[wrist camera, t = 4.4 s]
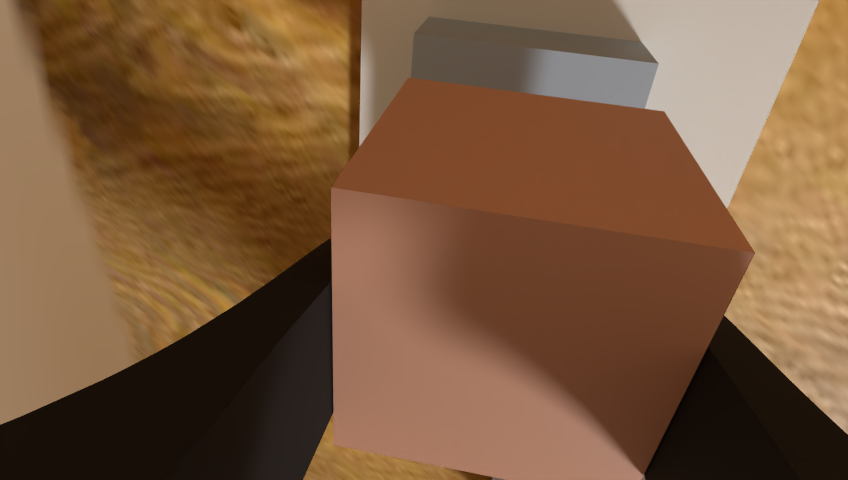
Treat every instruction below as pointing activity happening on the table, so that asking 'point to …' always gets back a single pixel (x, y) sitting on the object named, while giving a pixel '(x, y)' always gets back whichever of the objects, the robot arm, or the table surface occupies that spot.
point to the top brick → (522, 283)
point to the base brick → (534, 61)
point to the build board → (635, 21)
